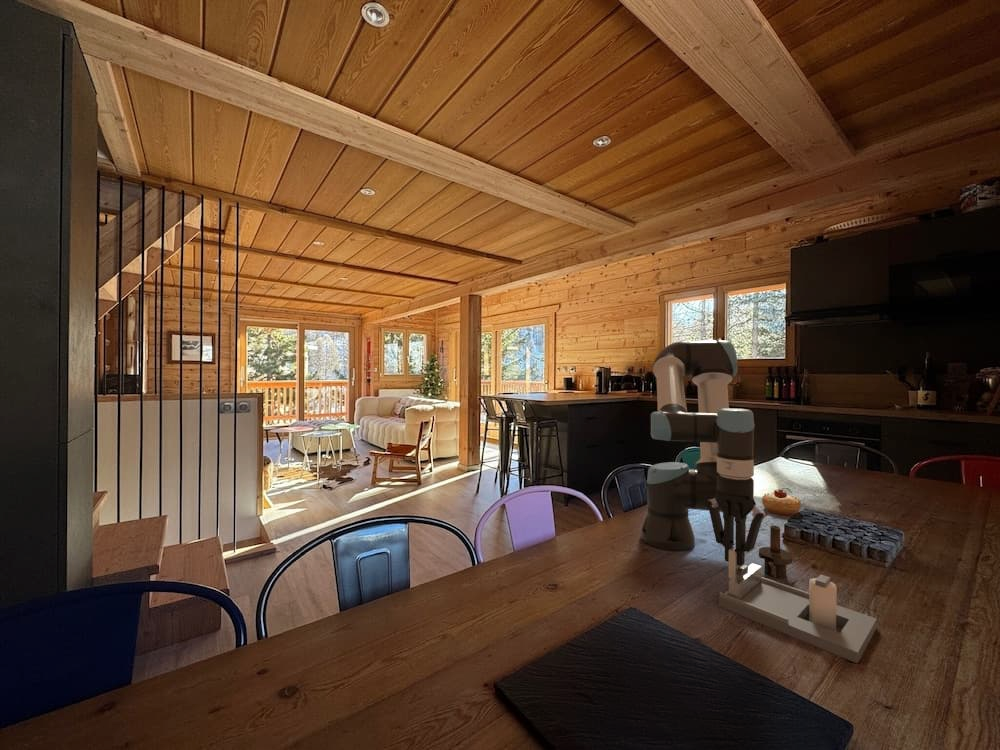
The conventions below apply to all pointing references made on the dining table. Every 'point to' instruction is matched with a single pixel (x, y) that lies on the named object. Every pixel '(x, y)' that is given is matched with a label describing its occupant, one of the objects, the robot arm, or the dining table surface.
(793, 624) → the housing plate
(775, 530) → the industrial component
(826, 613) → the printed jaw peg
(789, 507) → the pastry
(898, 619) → the dining table surface
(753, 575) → the lock bar
